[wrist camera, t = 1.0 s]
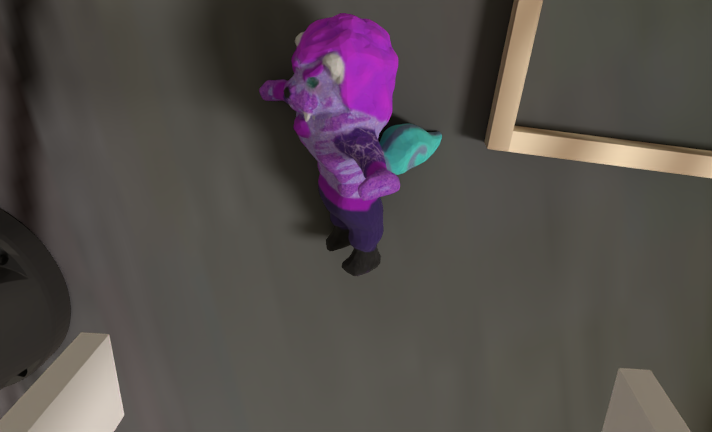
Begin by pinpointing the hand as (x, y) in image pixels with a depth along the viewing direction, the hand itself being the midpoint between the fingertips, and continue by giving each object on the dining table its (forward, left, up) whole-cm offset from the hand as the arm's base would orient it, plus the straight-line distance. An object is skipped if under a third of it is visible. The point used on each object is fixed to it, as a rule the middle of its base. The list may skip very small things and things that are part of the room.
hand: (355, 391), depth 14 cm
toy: (-2, +1, -21) cm, 21 cm away
